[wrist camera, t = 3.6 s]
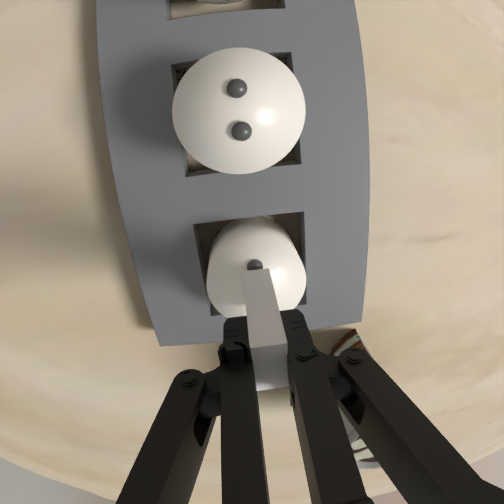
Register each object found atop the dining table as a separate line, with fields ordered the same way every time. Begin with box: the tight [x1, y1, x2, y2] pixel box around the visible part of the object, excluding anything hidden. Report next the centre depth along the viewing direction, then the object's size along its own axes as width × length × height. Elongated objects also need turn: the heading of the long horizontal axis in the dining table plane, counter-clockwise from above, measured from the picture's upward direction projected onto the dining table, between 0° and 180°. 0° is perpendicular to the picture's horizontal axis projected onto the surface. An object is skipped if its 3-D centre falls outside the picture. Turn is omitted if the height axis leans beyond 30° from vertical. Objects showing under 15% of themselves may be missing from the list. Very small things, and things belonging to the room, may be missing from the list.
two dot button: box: [172, 48, 306, 174], centre depth 15 cm, size 6×6×4 cm
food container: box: [330, 329, 381, 469], centre depth 24 cm, size 12×6×10 cm, turn 35°
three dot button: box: [206, 217, 306, 318], centre depth 20 cm, size 6×6×4 cm
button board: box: [96, 0, 370, 346], centre depth 18 cm, size 32×16×2 cm, turn 6°
